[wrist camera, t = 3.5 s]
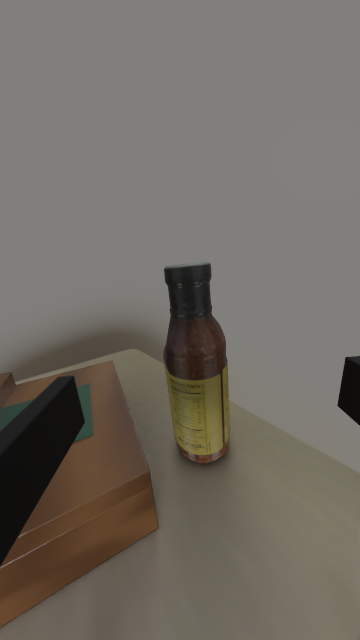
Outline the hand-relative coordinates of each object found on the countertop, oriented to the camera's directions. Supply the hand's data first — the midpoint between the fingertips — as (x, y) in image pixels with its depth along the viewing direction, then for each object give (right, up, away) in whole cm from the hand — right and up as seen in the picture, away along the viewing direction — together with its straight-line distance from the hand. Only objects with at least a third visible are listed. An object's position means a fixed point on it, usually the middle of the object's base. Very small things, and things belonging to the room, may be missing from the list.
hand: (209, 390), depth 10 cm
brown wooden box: (-14, -12, +12) cm, 22 cm away
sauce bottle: (+1, -11, +13) cm, 17 cm away
